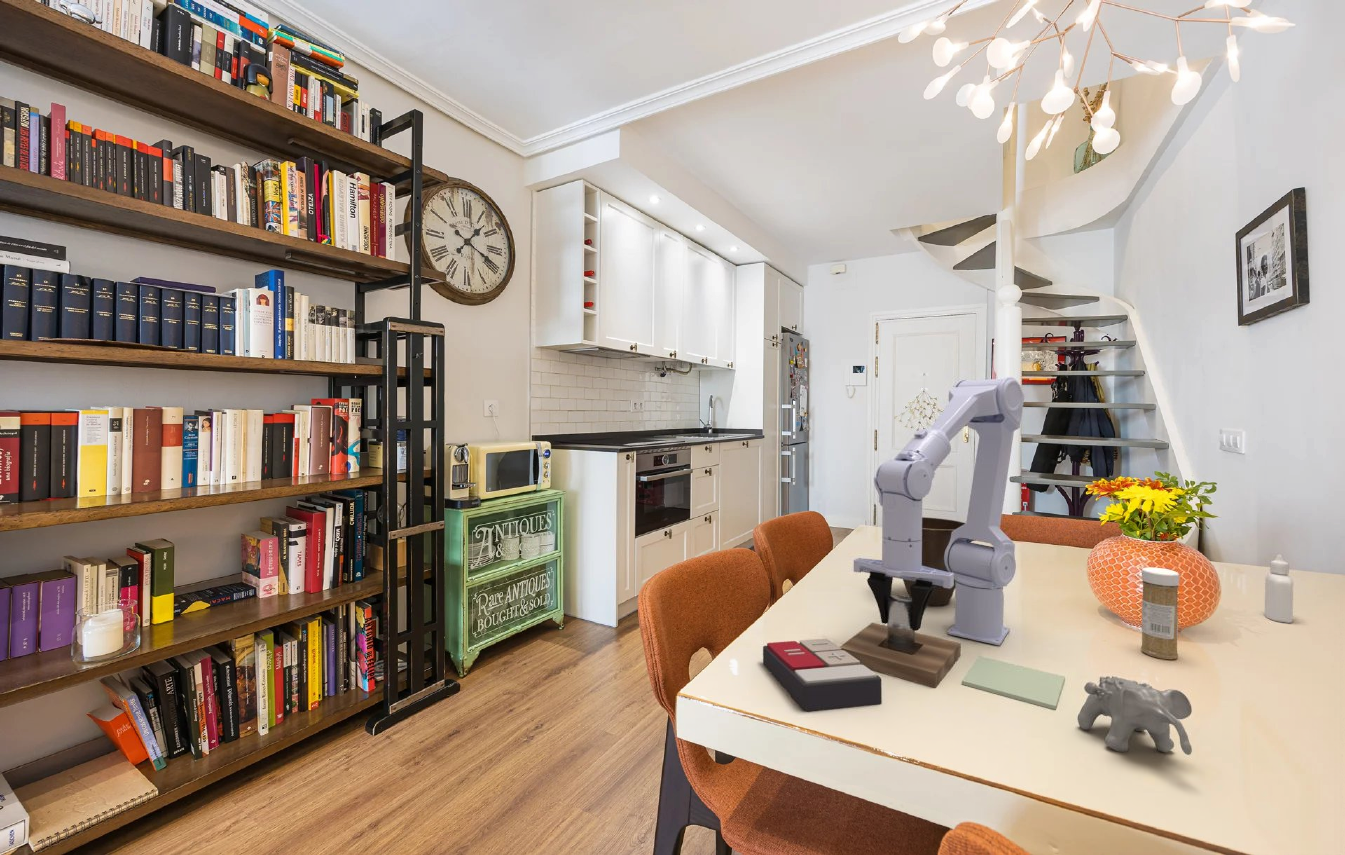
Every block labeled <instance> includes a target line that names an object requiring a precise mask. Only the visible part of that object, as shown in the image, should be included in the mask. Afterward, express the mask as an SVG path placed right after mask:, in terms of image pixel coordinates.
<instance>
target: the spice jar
mask: <svg viewBox="0 0 1345 855" xmlns="http://www.w3.org/2000/svg"><path fill="white" fill-rule="evenodd" d="M1141 583H1142V600H1141V601H1142V602H1141V635H1142V636H1141V647H1140V650H1141V652H1143V653H1144V654H1146V655H1147V656H1151V657H1152V658H1153V657H1154V658H1156V659H1163V660H1176V659H1177V658H1178V656H1179V654H1178V638H1179V637H1178V636H1179V616H1178V615H1179V614H1178V608H1179V606H1178V605H1179V602H1178V601H1179V600H1178V598H1179V597H1178V596H1179V595H1178V593H1179V592H1178V591H1179V589H1178V588H1179V586H1180V574H1179V572H1177V571H1174V570H1171V569H1167V568H1162V567H1161V568H1160V567H1153V566H1151V567H1144V568H1142V569H1141Z"/></svg>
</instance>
